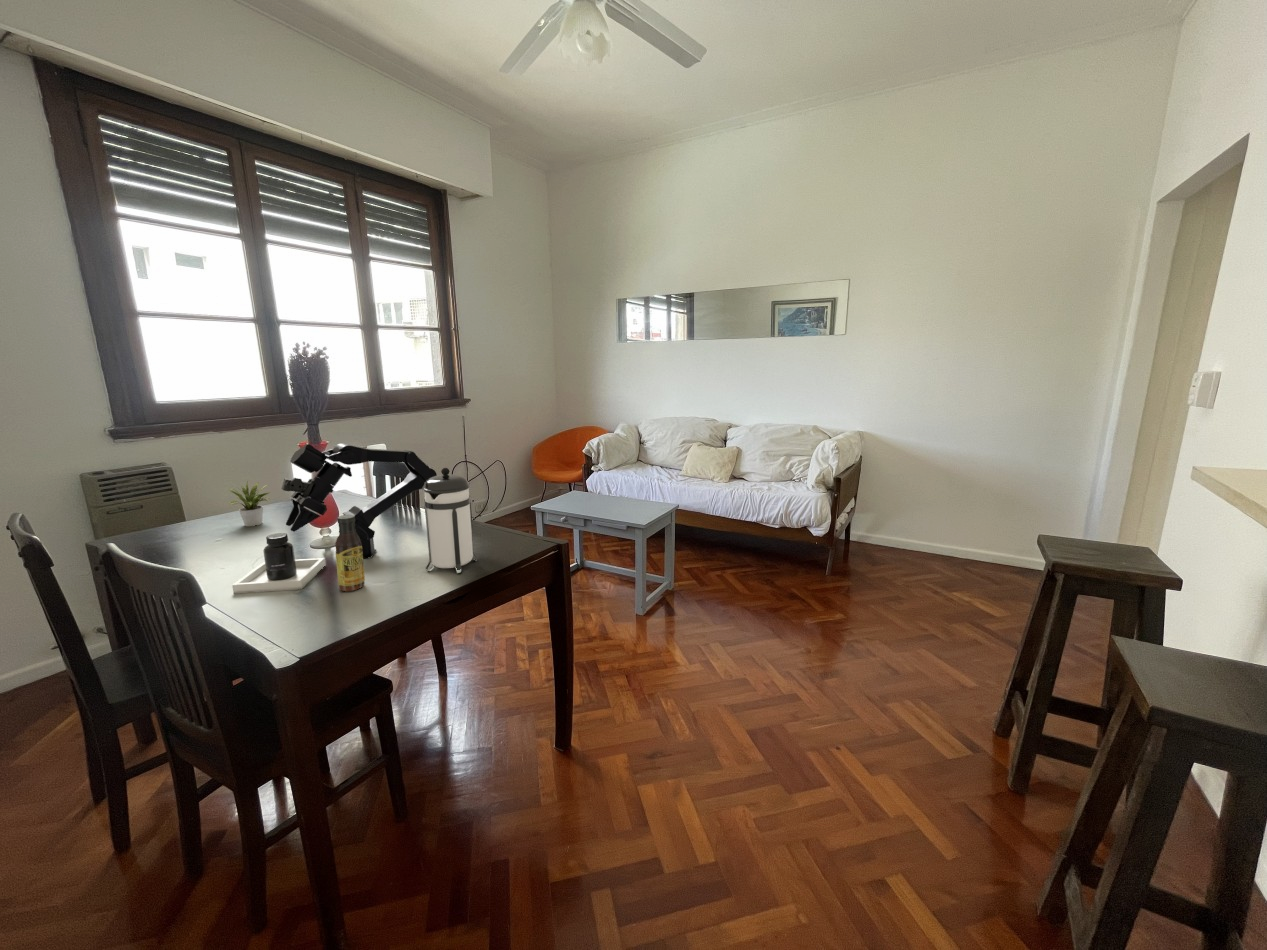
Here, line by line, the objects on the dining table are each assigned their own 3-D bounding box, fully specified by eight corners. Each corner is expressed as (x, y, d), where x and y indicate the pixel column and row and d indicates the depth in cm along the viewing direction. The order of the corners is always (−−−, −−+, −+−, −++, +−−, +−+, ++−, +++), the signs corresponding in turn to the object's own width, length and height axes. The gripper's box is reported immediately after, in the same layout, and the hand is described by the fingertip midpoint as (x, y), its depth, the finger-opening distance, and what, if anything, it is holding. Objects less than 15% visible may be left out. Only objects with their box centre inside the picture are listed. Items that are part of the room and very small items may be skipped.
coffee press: (488, 569, 147) (482, 469, 141) (430, 580, 139) (421, 475, 133) (473, 550, 162) (467, 459, 155) (420, 559, 154) (411, 464, 147)
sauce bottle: (347, 594, 130) (337, 522, 126) (334, 589, 134) (324, 518, 129) (371, 585, 136) (363, 515, 131) (358, 580, 139) (350, 511, 135)
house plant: (236, 534, 175) (228, 488, 171) (218, 527, 182) (210, 483, 178) (281, 523, 187) (275, 480, 183) (263, 517, 194) (256, 476, 190)
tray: (325, 565, 149) (324, 557, 148) (301, 589, 133) (300, 580, 133) (265, 569, 146) (264, 561, 145) (233, 593, 130) (232, 584, 130)
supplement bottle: (275, 583, 135) (268, 541, 132) (262, 578, 138) (255, 537, 136) (302, 574, 141) (296, 534, 138) (289, 569, 144) (283, 530, 142)
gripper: (292, 463, 148) (256, 509, 143) (302, 469, 134) (263, 519, 129) (328, 483, 154) (295, 527, 150) (342, 490, 141) (306, 539, 136)
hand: (289, 528), depth 141 cm, fingers open, 9 cm apart
